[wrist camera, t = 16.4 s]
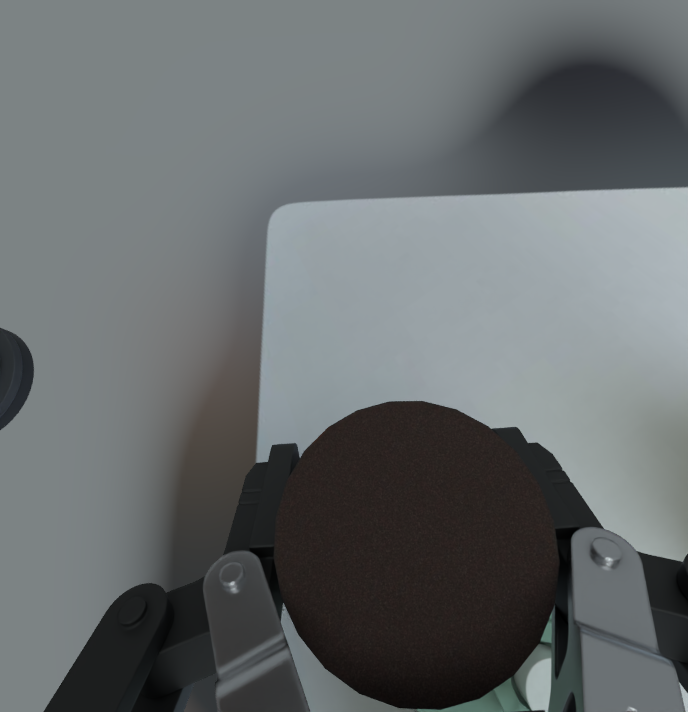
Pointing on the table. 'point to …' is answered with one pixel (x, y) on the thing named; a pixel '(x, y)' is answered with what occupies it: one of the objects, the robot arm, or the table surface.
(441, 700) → the deodorant
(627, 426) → the table surface
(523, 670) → the white cylindrical knob
